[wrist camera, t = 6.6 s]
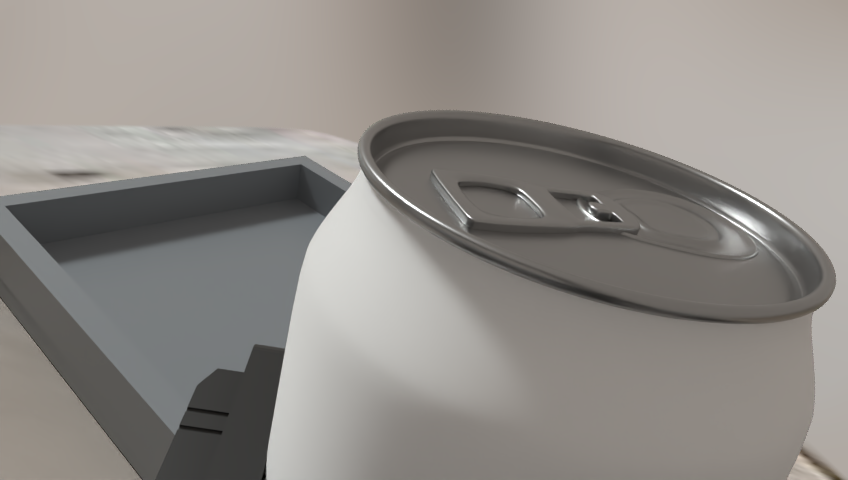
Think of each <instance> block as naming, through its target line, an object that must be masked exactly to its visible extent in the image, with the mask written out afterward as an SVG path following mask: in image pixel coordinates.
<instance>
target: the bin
mask: <svg viewBox="0 0 848 480" xmlns="http://www.w3.org/2000/svg"><path fill="white" fill-rule="evenodd" d="M351 185H352V184H351V183H349V182H348V181H346V180H344V179H343V178H341V177H339V176H338V175H336V174H334V173H333V172H331V171H329V170H328V169H326V168H324V167H322V166H321V165H319V164H317V163H316V162H314V161H312V160H311V159H309V158H307V157H306V156H301V157H293V158H286V159H278V160H271V161H263V162H256V163H248V164H241V165H233V166H225V167H218V168H210V169H203V170H195V171H188V172H180V173H173V174H165V175H158V176H150V177H142V178H135V179H127V180H120V181H112V182H105V183H97V184H90V185H82V186H75V187H67V188H60V189H52V190H44V191H37V192H29V193H22V194H14V195H7V196H0V297H1V298H2V300H3V301H4V302H5V304H6V305H7V306H8V307H9V309H10V310H11V311H12V313H13V314H14V315H15V316H16V318H17V319H18V320H19V321H20V323H21V324H22V325H23V327H24V328H25V329H26V330H27V332H28V333H29V334H30V336H31V337H32V338H33V339H34V341H35V342H36V343H37V345H38V346H39V347H40V348H41V350H42V351H43V352H44V354H45V355H46V356H47V357H48V359H49V360H50V361H51V363H52V364H53V365H54V366H55V368H56V369H57V370H58V371H59V373H60V374H61V375H62V377H63V378H64V379H65V380H66V382H67V383H68V384H69V386H70V387H71V388H72V389H73V391H74V392H75V393H76V395H77V396H78V397H79V398H80V400H81V401H82V402H83V404H84V405H85V406H86V407H87V409H88V410H89V411H90V413H91V414H92V415H93V416H94V418H95V419H96V420H97V421H98V423H99V424H100V425H101V427H102V428H103V429H104V430H105V432H106V433H107V434H108V436H109V437H110V438H111V439H112V441H113V442H114V443H115V445H116V446H117V447H118V448H119V450H120V451H121V452H122V454H123V455H124V456H125V457H126V459H127V460H128V461H129V463H130V464H131V465H132V466H133V468H134V469H135V470H136V471H137V473H138V474H139V475H140V477H141V478H142V479H143V480H155V479H156V476H157V474H158V472H159V470H160V467H161V465H162V463H163V461H164V458H165V456H166V454H167V452H168V449H169V447H170V445H171V443H172V440H173V438H174V436H175V434H176V431H177V429H179V425H180V422H181V420H182V418H183V416H184V413H185V411H187V407H188V404H189V402H190V400H191V398H192V395H193V393H194V391H195V389H196V386H197V385H198V384H199V383H200V382H202V381H203V380H204V379H205V378H206V377H208V376H209V375H210V374H211V373H213V372H214V371H215V370H216V369H218V368H219V369H226V370H233V371H239V372H244V371H245V368H246V365H247V363H248V360H249V357H250V354H251V352H252V349H253V346H254V345H255V344H259V345H265V346H272V347H278V348H286V342H287V337H288V331H289V326H290V320H291V315H292V310H293V305H294V300H295V295H296V290H297V286H298V281H299V276H300V272H301V268H302V265H303V261H304V258H305V255H306V251H307V248H308V246H309V243H310V241H311V239H312V238H313V236H314V234H315V233H316V231H317V229H318V228H319V226H320V225H321V223H322V222H323V221H324V219H325V218H326V216H327V215H328V214H329V213H330V211H331V210H332V209H333V207H334V206H335V205H336V204H337V202H338V201H339V200H340V199H341V197H342V196H343V195H344V194H345V192H346V191H347V190H348V189H349V187H350V186H351Z"/></svg>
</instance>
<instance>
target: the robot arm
mask: <svg viewBox="0 0 848 480" xmlns="http://www.w3.org/2000/svg"><path fill="white" fill-rule="evenodd" d="M284 353H285V348H278V347H272V346H265V345H259V344H255V345H254V346H253V349H252V352H251V354H250V357H249V360H248V363H247V365H246V368H245V371H244V372H239V371H233V370H226V369H219V368H218V369H216V370H215V371H214V372H213V373H211V374H210V375H209V376H208V377H206V378H205V379H204V380H203V381H202V382H200V383H199V384H198V385H197V386H196V389H195V391H194V393H193V395H192V398H191V400H190V402H189V404H188V407H187V411H185V413H184V416H183V418H182V420H181V422H180V425H179V429H177V431H176V434H175V436H174V438H173V440H172V443H171V445H170V447H169V449H168V452H167V454H166V456H165V458H164V461H163V463H162V465H161V467H160V470H159V472H158V474H157V476H156V479H155V480H264V474H265V467H266V461H267V450H268V444H269V438H270V432H271V427H272V421H273V415H274V409H275V404H276V398H277V392H278V387H279V381H280V375H281V370H282V364H283V359H284Z"/></svg>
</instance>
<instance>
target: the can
mask: <svg viewBox="0 0 848 480" xmlns="http://www.w3.org/2000/svg"><path fill="white" fill-rule="evenodd" d="M358 160H359V163H360V167H361V170H360V172H359V174H358V176H357V178H356V179H355V181H354V182H353V183H352V185H351V186H350V187H349V189H348V190H347V191H346V192H345V194H344V195H343V196H342V197H341V199H340V200H339V201H338V202H337V204H336V205H335V206H334V207H333V209H332V210H331V211H330V213H329V214H328V215H327V216H326V218H325V219H324V221H323V222H322V223H321V225H320V226H319V228H318V229H317V231H316V233H315V234H314V236H313V238H312V239H311V241H310V243H309V246H308V248H307V251H306V255H305V258H304V261H303V265H302V268H301V272H300V276H299V281H298V286H297V290H296V295H295V300H294V305H293V310H292V315H291V320H290V326H289V331H288V337H287V342H286V348H285V353H284V359H283V364H282V370H281V375H280V381H279V387H278V392H277V398H276V404H275V409H274V415H273V421H272V427H271V432H270V438H269V444H268V450H267V461H266V467H265V474H264V480H787V477H788V475H789V473H790V471H791V469H792V467H793V465H794V463H795V461H796V459H797V457H798V455H799V453H800V451H801V448H802V446H803V443H804V441H805V438H806V435H807V432H808V430H809V427H810V424H811V421H812V418H813V412H814V400H815V376H814V360H813V347H812V335H811V334H812V331H811V323H812V315H813V312H814V311H816V310H817V309H819V308H820V307H821V306H823V305H824V304H825V303H826V302H827V301H828V299H829V298H830V297H831V295H832V293H833V291H834V289H835V285H836V275H835V270H834V267H833V265H832V263H831V261H830V259H829V257H828V256H827V254H826V253H825V252H824V250H823V249H822V248H821V247H820V246H819V244H818V243H816V241H815V240H814V239H813V238H812V237H811V236H810V235H808V234H807V233H806V232H805V231H804V230H803V229H802V228H800V227H799V226H798V225H796V224H795V223H794V222H792V221H791V220H790V219H788V218H787V217H785V216H784V215H782V214H781V213H779V212H778V211H777V210H775V209H773V208H772V207H770V206H769V205H767V204H765V203H763V202H762V201H760V200H758V199H757V198H755V197H753V196H751V195H749V194H748V193H746V192H744V191H742V190H740V189H738V188H736V187H734V186H732V185H730V184H728V183H726V182H724V181H722V180H720V179H718V178H715V177H713V176H711V175H709V174H707V173H704V172H702V171H700V170H697V169H695V168H693V167H690V166H688V165H685V164H683V163H680V162H678V161H675V160H673V159H670V158H667V157H665V156H662V155H659V154H657V153H654V152H651V151H648V150H645V149H642V148H639V147H636V146H633V145H630V144H627V143H624V142H621V141H617V140H614V139H611V138H607V137H604V136H600V135H597V134H593V133H590V132H586V131H582V130H578V129H574V128H569V127H565V126H561V125H556V124H552V123H548V122H543V121H538V120H532V119H527V118H521V117H515V116H508V115H501V114H492V113H484V112H473V111H457V110H430V111H417V112H408V113H403V114H398V115H394V116H391V117H387V118H384V119H382V120H380V121H378V122H376V123H374V124H373V125H371V126H370V127H369V128H368V129H367V130H366V131H365V132H364V133H363V135H362V137H361V138H360V141H359V144H358Z"/></svg>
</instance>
